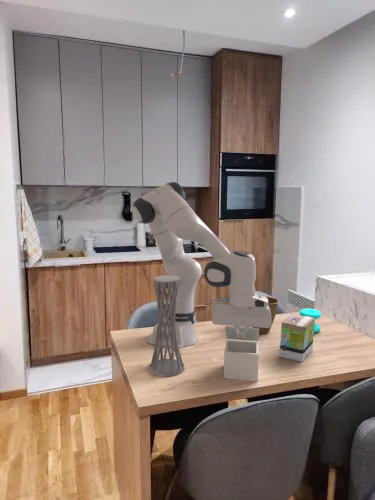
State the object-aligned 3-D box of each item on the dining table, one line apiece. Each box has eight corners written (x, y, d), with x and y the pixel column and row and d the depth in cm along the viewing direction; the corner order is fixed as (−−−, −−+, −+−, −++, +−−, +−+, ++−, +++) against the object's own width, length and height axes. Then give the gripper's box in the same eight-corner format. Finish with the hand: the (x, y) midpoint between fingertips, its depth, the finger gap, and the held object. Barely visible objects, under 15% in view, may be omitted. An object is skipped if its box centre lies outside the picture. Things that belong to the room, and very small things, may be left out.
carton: (223, 378, 137) (224, 351, 136) (226, 364, 149) (226, 339, 148) (257, 381, 135) (258, 354, 134) (257, 366, 147) (258, 341, 146)
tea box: (303, 362, 151) (305, 326, 149) (278, 357, 156) (280, 322, 154) (313, 350, 163) (315, 316, 161) (290, 345, 169) (291, 312, 167)
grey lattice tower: (149, 361, 151) (148, 274, 147) (183, 360, 152) (183, 274, 147) (148, 377, 138) (147, 282, 133) (185, 376, 139) (185, 282, 134)
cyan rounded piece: (323, 309, 188) (318, 315, 179) (322, 329, 189) (317, 335, 181) (302, 306, 193) (297, 311, 184) (301, 325, 194) (296, 331, 186)
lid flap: (225, 327, 137) (225, 326, 138) (226, 338, 147) (226, 337, 148) (259, 329, 135) (259, 328, 136) (258, 341, 145) (258, 339, 146)
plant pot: (259, 339, 176) (260, 305, 173) (240, 329, 188) (240, 297, 186) (284, 333, 183) (285, 301, 181) (263, 324, 196) (264, 294, 193)
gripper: (210, 299, 129) (210, 339, 131) (272, 303, 125) (271, 343, 127) (212, 295, 135) (212, 332, 137) (272, 298, 131) (270, 336, 133)
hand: (241, 337), depth 132 cm, fingers closed
